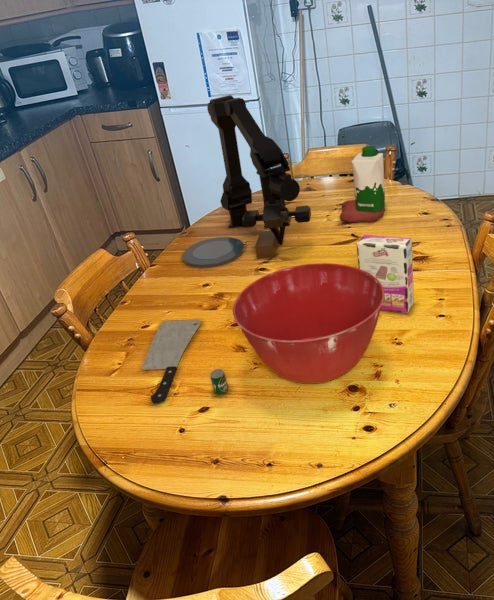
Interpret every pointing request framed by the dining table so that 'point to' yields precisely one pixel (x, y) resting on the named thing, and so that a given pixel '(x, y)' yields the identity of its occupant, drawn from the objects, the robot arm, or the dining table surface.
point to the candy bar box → (389, 268)
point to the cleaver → (169, 351)
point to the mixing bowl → (310, 319)
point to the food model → (358, 213)
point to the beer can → (219, 382)
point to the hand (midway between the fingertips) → (281, 244)
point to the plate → (213, 252)
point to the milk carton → (369, 180)
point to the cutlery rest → (266, 245)
